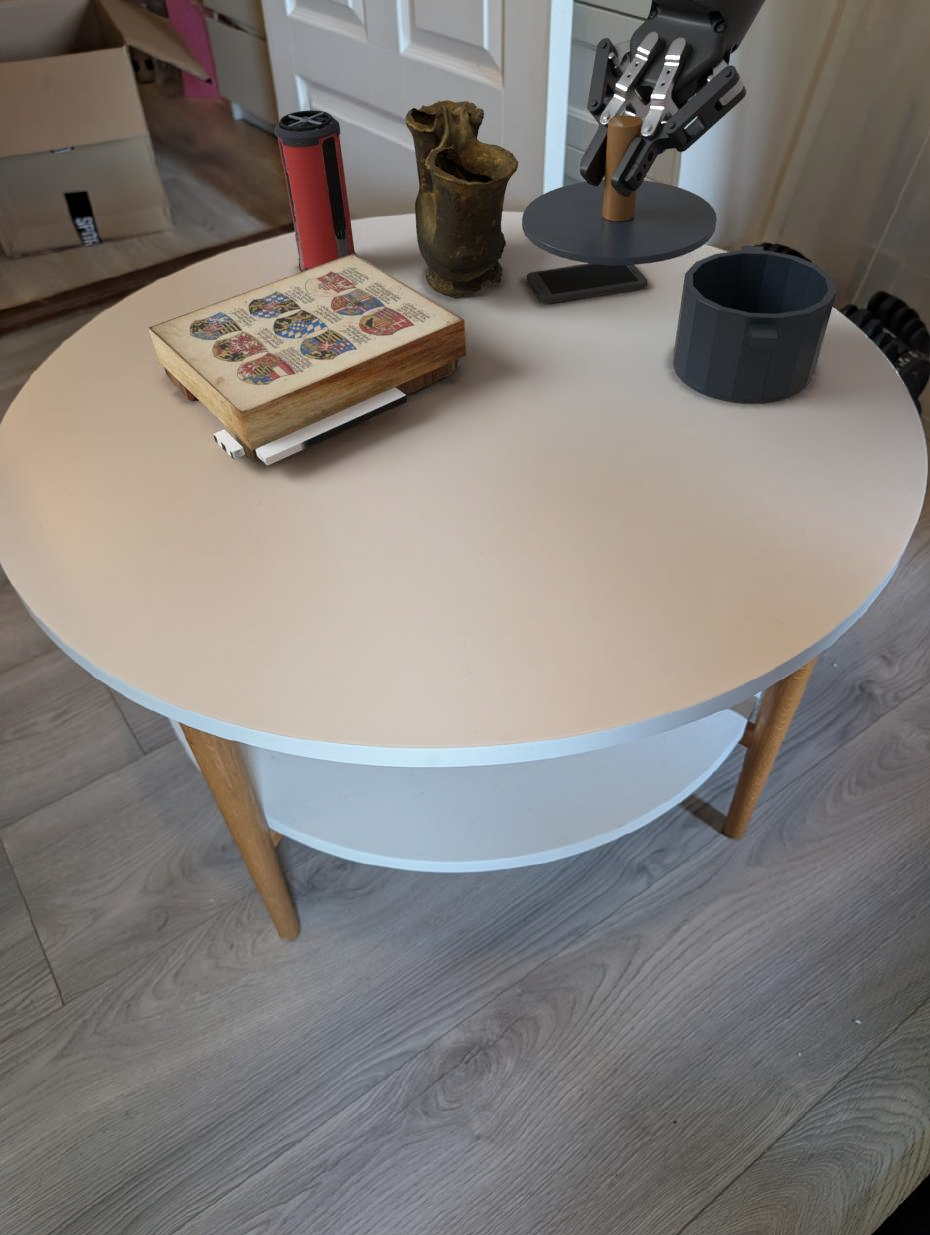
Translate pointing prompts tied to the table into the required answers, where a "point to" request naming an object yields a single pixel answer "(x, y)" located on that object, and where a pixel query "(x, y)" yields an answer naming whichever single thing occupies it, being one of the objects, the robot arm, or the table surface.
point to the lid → (619, 215)
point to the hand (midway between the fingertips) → (603, 184)
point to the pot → (752, 325)
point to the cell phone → (584, 281)
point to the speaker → (315, 186)
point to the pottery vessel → (458, 196)
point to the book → (309, 355)
